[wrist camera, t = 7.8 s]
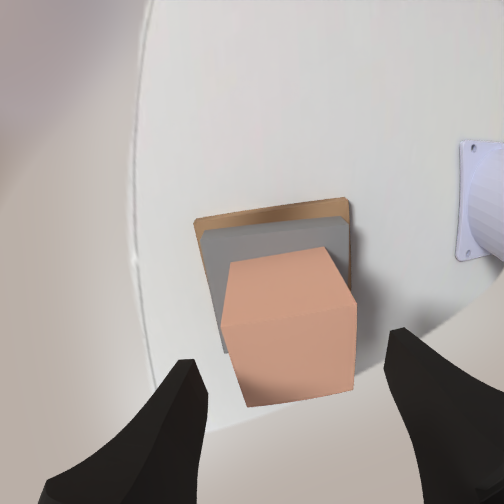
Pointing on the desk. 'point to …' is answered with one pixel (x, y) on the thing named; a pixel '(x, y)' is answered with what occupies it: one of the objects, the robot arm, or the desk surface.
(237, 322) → the terracotta block
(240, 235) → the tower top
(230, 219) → the tower base
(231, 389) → the desk surface
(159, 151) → the desk surface
